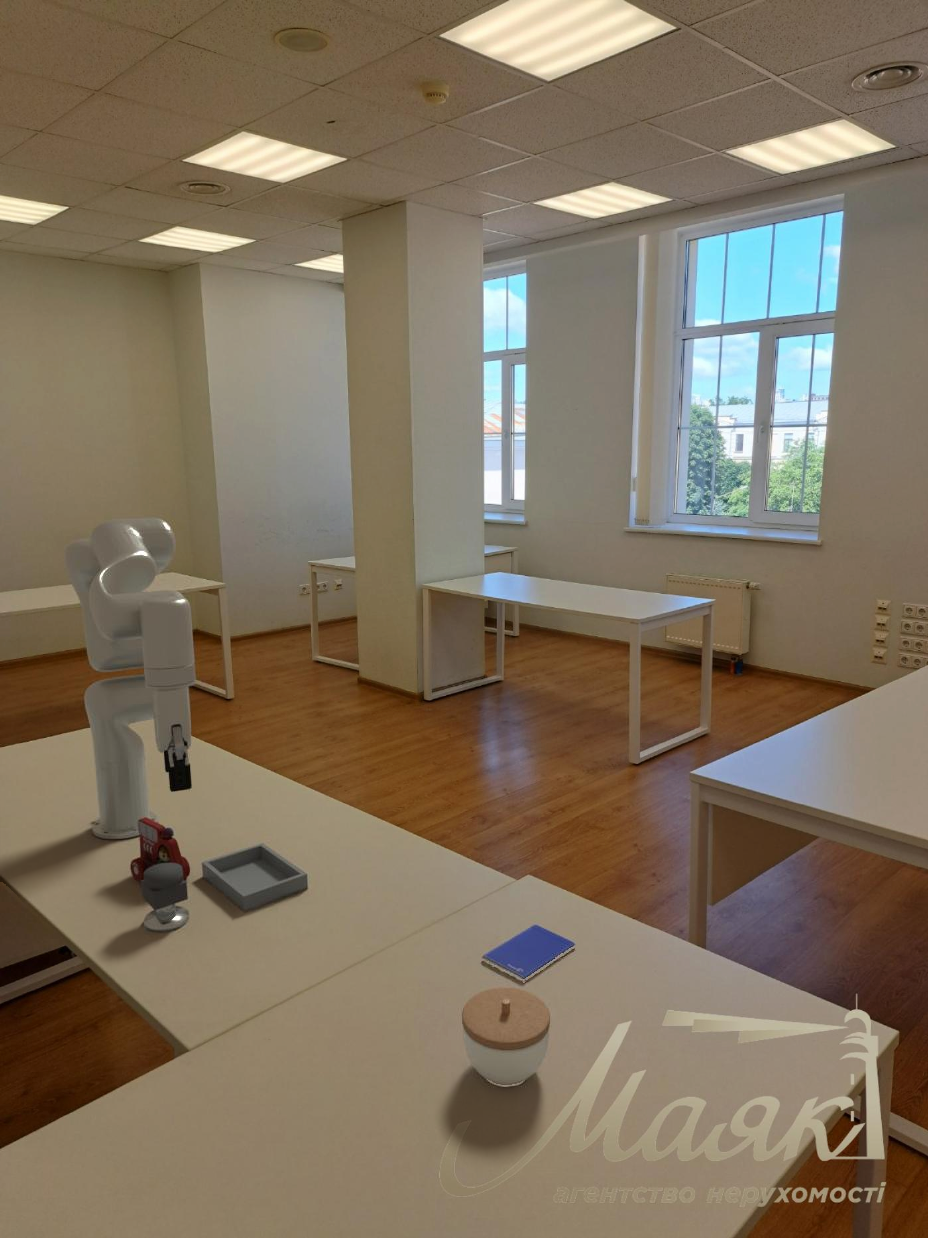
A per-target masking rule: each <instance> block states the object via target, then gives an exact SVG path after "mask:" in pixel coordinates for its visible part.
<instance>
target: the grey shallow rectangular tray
mask: <svg viewBox="0 0 928 1238" xmlns="http://www.w3.org/2000/svg"><path fill="white" fill-rule="evenodd" d="M201 870H202V871H201V872H202V878H204V879H205V880H206V881H207V882H208V883H210V884H211V885H212V886H213V887H215V889H217V890H218V891H219V892H220V893H221V894H223V895H224V897H226V898H227V899H229V900H230V901H231V902H232V903H233V904H234V905H236V906H237V907H238V908H239V909H240V910H242V911H243V912H244V913H245V912H249V911H251V910H255V909H257V908H259V907H262V906H264V905H267V904H270V903H272V902H275V901H278V900H281V899H283V898H286V897H290V896H292V895H295V894H297V893H300V892H303V891H306V890H308V889H309V886H308V883H309V882H308V873H306V872H305V871H304V870H302V869H301V868H300V867H298V866H297V865H295V864H294V863H292V862H290V860H288V859H286V858H285V857H283V856H282V855H281V854H279V853H278V852H276V851H275V850H274V849H272V848H270V847H269V846H268V845H266V844H264V842H261V843H258V844H256V845H252V846H250V847H246V848H242V849H240V850H236V851H233V852H231V853H227V854H223V855H221V856H218V857H214V858H210V859H208V860H204V861H202V862H201Z"/></svg>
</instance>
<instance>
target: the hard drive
mask: <svg viewBox="0 0 928 1238" xmlns="http://www.w3.org/2000/svg"><path fill="white" fill-rule="evenodd" d="M574 945H575V946H576V943H574V942H573V941H572V940H570V939H569V938H565V937H563V936H561V935H559V934H557V933H555V932H553V931H551V930H548V929H546V928H545V927H542V926H540V925H538V924H532V926H530V927H529V928H526V929H525V930H523V931H522V932H520V933H518V934H516V935H515V936H513V937H511V938H510V939H508V940H507V941H505V942H504V943H501V944H500V945H498V946H497V947H495V948H493V949H492V950H489V951H488V952H486V953H485V954H484V955H482V956H481V957H482V958H481V960H482V959H485V960H486V961H489V963H492V964H494V965H497V966H498V967H500V968H502V969H505V970H506V971H509V972H510V973H513V974H514V975H517V976H518V977H520V978H521V979H525V978H526V977H528V976H530V975H531V974H532V973H534V972H535V971H537V970H538V969H540V968H541V967H543V966H544V965H546V964H547V963H549V962H550V961H552V960H553V959H555V957H557V956H558V955H560V954H561V953H564V952H565V951H566V950H568V949H569V948H571V947H573V946H574Z"/></svg>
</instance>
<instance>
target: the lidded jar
mask: <svg viewBox="0 0 928 1238" xmlns="http://www.w3.org/2000/svg"><path fill="white" fill-rule="evenodd" d="M550 1023H551V1014H550V1011H549V1008H548V1006H547V1005H546V1004H545V1002H544V1001H543V1000H542V999H540V998H539V997H538V996H537V995H536V994H533V993H531V992H529V991H526V990H523V989H519V988H514V987H513V988H512V987H497V988H491V989H486V990H483V991H481V992H478V993H476V994H475V995H473V996H472V997H471V998H469V999H468V1001H467V1002H466V1003H465V1005H463V1008H462V1013H461V1024H462V1033H463V1035H462V1036H463V1043H464V1046H465V1051H466V1055H467V1057H468V1060H469V1062H470V1064H471V1066H472V1067H473V1068H474V1070H475V1071H476V1072H477V1073H478V1074H480V1076H482V1077H483V1078H484V1079H485V1078H486V1079H488V1080H490V1081H492V1082H493V1083H496V1084H500V1085H512V1084H517V1083H520V1082H522V1081H524V1080H526V1079H527V1080H528V1079H529V1078H531V1077H532V1076H533V1075H534V1074H535V1073H536V1072H537V1071H538V1070H539V1068H540V1067H541V1065H542V1063H543V1061H544V1059H545V1057H546V1053H547V1050H548V1044H549V1037H550V1036H549V1034H550V1029H549V1028H550ZM527 1080H526V1081H527Z"/></svg>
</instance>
